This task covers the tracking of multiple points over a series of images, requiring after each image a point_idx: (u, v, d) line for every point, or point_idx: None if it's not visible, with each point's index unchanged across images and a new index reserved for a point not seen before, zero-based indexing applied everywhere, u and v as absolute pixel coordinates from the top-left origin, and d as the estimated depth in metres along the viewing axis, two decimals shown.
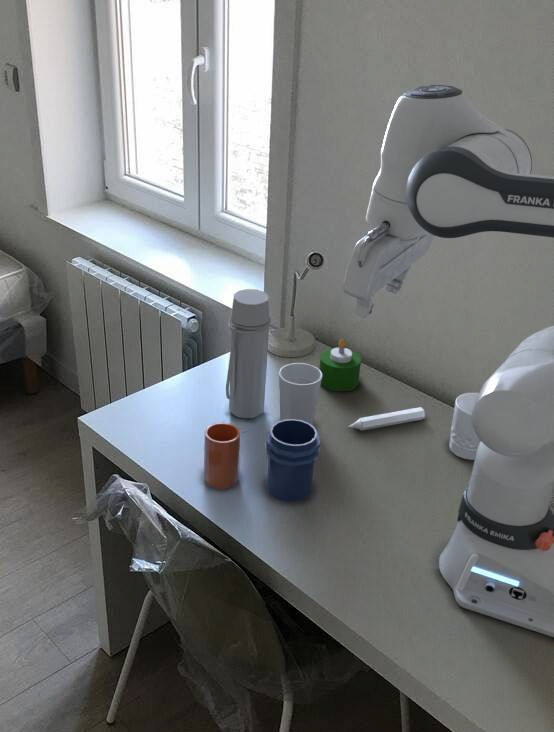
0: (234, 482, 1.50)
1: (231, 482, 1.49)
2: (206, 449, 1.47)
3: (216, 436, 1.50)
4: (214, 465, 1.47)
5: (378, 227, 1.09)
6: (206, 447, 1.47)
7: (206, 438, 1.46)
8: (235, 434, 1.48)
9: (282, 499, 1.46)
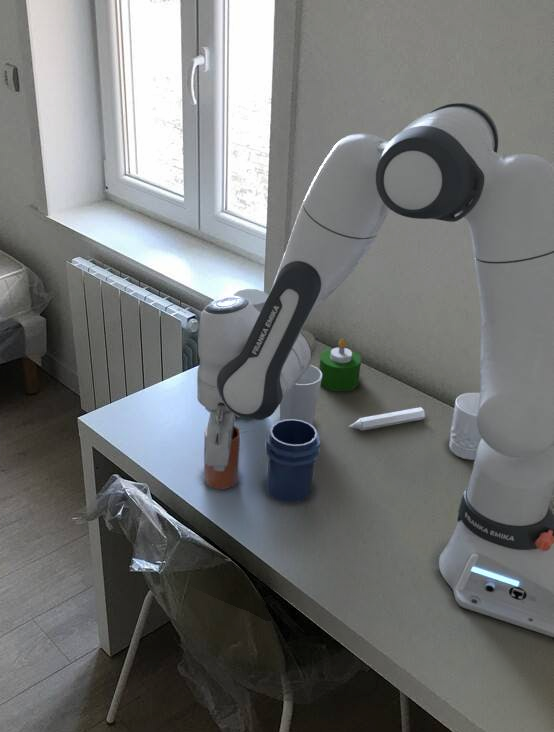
0: (234, 482, 1.50)
1: (231, 482, 1.49)
2: None
3: None
4: None
5: (219, 411, 1.36)
6: None
7: (206, 438, 1.46)
8: (235, 434, 1.48)
9: (282, 499, 1.46)
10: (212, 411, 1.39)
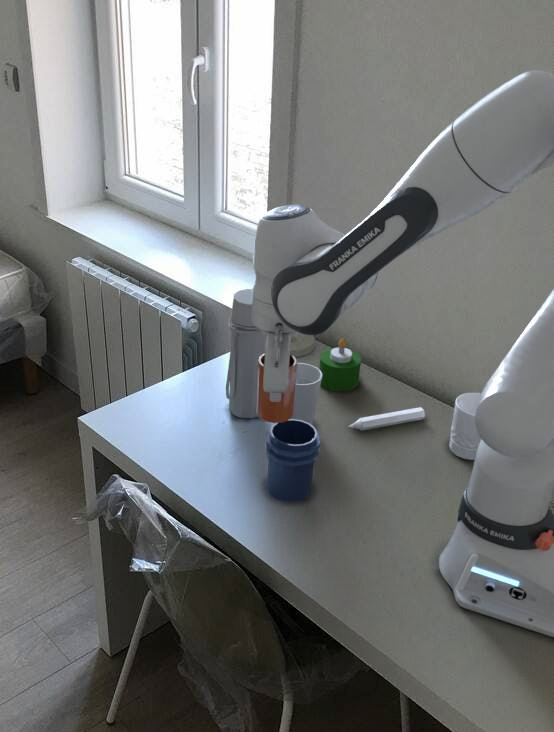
0: (290, 416, 1.39)
1: (287, 415, 1.38)
2: (260, 379, 1.36)
3: None
4: (269, 396, 1.36)
5: (278, 330, 1.25)
6: (260, 377, 1.36)
7: (260, 366, 1.35)
8: (291, 363, 1.37)
9: (282, 499, 1.46)
10: (269, 333, 1.28)
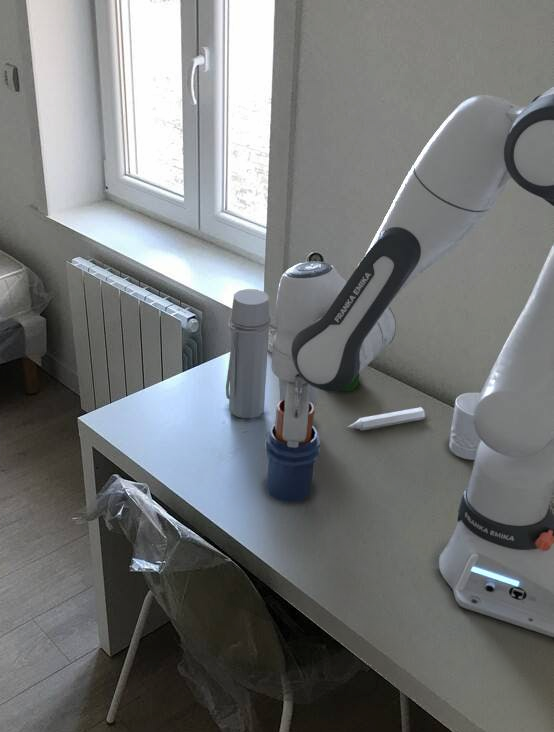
0: None
1: None
2: (278, 424, 1.40)
3: None
4: None
5: (298, 382, 1.29)
6: (278, 422, 1.40)
7: (279, 412, 1.39)
8: None
9: (282, 499, 1.46)
10: (289, 383, 1.32)
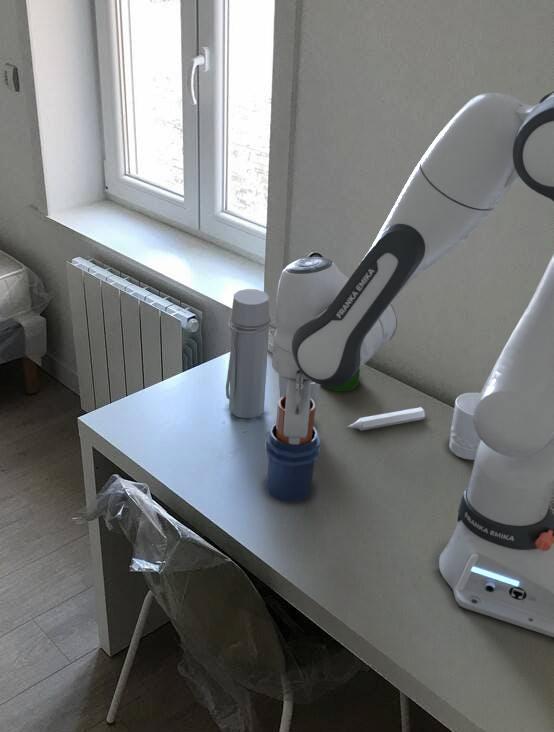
0: None
1: None
2: (279, 421, 1.40)
3: None
4: (288, 438, 1.40)
5: (299, 378, 1.29)
6: (279, 419, 1.39)
7: (280, 409, 1.38)
8: None
9: (282, 499, 1.46)
10: (290, 379, 1.32)
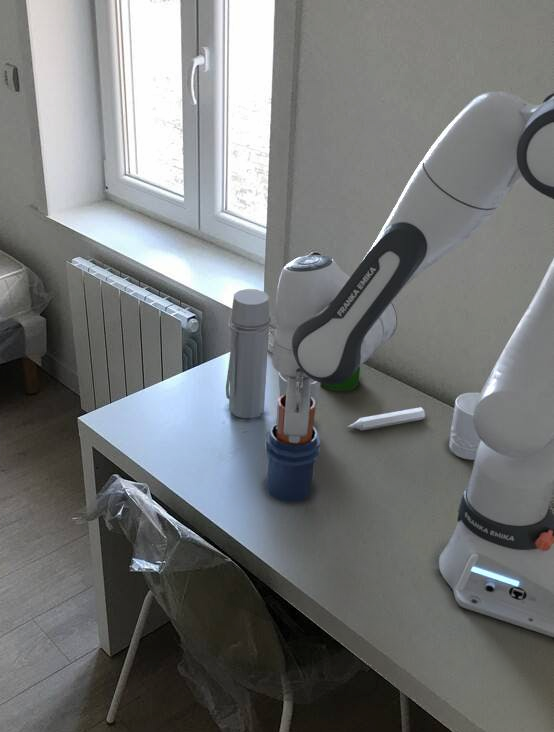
0: None
1: None
2: (279, 419, 1.39)
3: None
4: (288, 436, 1.40)
5: (299, 376, 1.29)
6: (279, 417, 1.39)
7: (280, 408, 1.38)
8: None
9: (282, 499, 1.46)
10: (290, 377, 1.32)
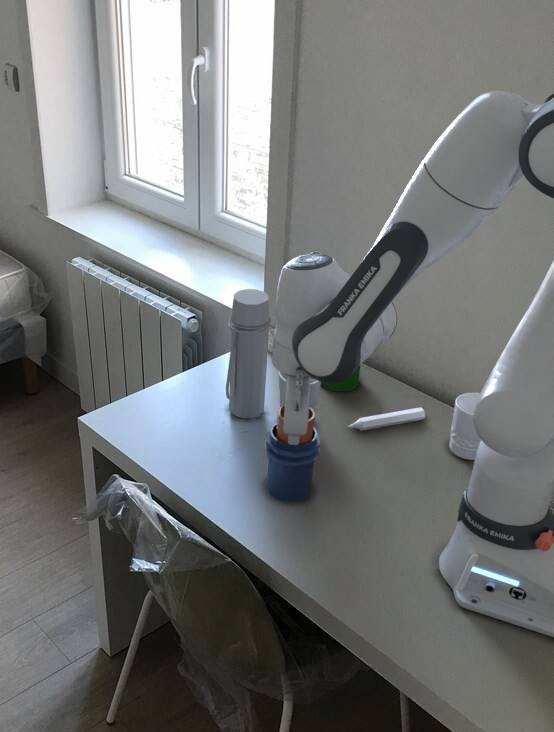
0: None
1: None
2: (279, 430, 1.41)
3: None
4: None
5: (299, 375, 1.29)
6: (279, 428, 1.40)
7: (280, 418, 1.39)
8: (309, 415, 1.41)
9: (282, 499, 1.46)
10: (290, 376, 1.32)
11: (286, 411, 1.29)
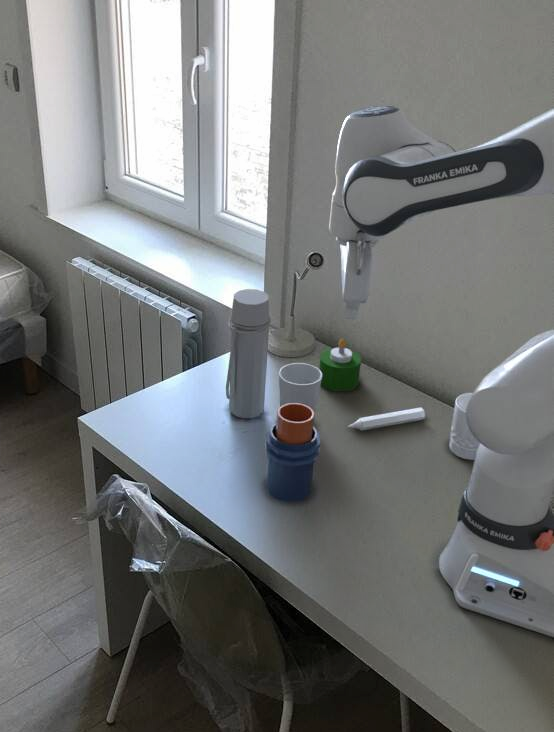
0: None
1: None
2: (278, 430, 1.41)
3: (287, 417, 1.44)
4: None
5: (360, 237, 1.21)
6: (278, 428, 1.40)
7: (279, 418, 1.39)
8: (308, 415, 1.42)
9: (282, 499, 1.46)
10: (349, 241, 1.24)
11: (347, 275, 1.22)
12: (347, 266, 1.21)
